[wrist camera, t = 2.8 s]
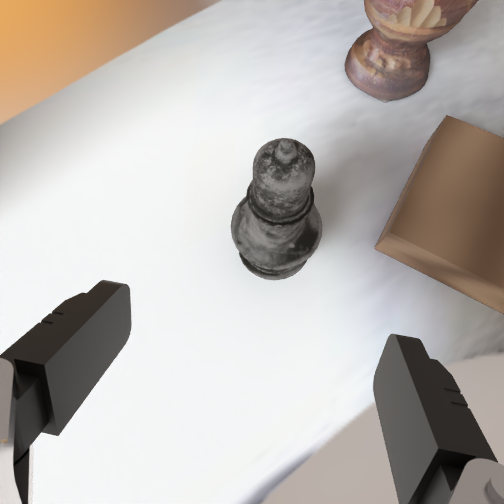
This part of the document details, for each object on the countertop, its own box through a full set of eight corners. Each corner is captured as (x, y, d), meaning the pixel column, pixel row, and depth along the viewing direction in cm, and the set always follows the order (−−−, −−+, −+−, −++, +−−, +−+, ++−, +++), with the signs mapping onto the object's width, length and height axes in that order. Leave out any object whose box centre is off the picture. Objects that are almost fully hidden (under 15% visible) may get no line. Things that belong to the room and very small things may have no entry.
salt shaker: (234, 210, 26) (217, 85, 15) (310, 209, 26) (351, 83, 15) (233, 284, 24) (212, 205, 13) (316, 283, 24) (368, 202, 13)
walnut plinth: (374, 248, 25) (389, 232, 22) (427, 141, 28) (446, 114, 25) (525, 325, 23) (563, 318, 20) (565, 199, 26) (602, 178, 23)
